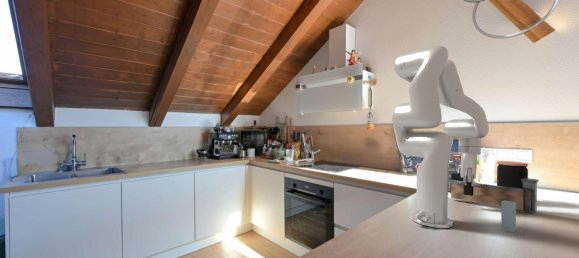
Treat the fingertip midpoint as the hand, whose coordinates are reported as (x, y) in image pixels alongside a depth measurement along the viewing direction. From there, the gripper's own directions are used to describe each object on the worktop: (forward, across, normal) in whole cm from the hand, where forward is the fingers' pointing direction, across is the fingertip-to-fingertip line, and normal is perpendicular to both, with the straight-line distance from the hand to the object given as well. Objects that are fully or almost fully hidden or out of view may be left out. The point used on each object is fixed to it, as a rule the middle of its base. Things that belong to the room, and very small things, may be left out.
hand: (468, 194), depth 104 cm
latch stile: (+6, +21, +10) cm, 24 cm away
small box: (+5, -33, -5) cm, 33 cm away
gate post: (+5, -10, +20) cm, 23 cm away
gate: (+5, -8, +7) cm, 12 cm away
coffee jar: (+5, -24, +17) cm, 30 cm away
